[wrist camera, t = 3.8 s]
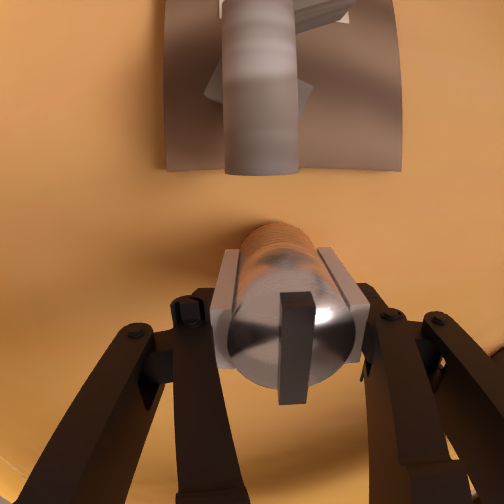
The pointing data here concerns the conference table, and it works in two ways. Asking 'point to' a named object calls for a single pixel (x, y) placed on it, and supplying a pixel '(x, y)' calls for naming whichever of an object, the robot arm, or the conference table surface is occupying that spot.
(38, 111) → the conference table surface
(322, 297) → the cylinder
